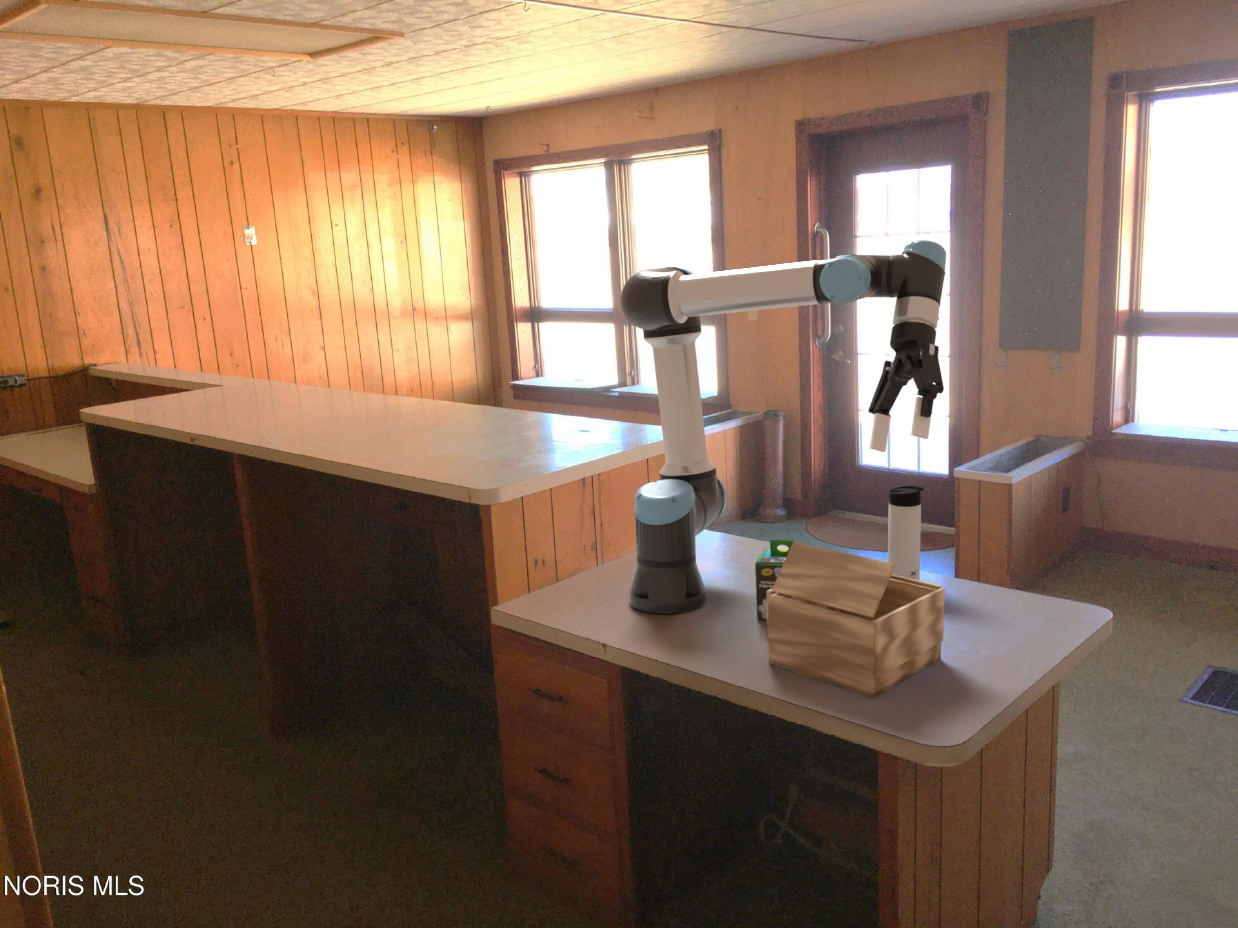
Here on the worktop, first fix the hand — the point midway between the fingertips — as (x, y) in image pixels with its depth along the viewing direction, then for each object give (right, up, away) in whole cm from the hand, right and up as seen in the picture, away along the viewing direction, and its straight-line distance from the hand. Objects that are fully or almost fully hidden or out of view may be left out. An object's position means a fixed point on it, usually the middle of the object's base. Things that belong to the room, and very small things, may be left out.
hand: (897, 443), depth 171 cm
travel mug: (+10, -28, +32) cm, 44 cm away
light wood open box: (-9, -36, -5) cm, 38 cm away
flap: (-16, -26, -14) cm, 33 cm away
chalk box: (-16, -32, +18) cm, 40 cm away
